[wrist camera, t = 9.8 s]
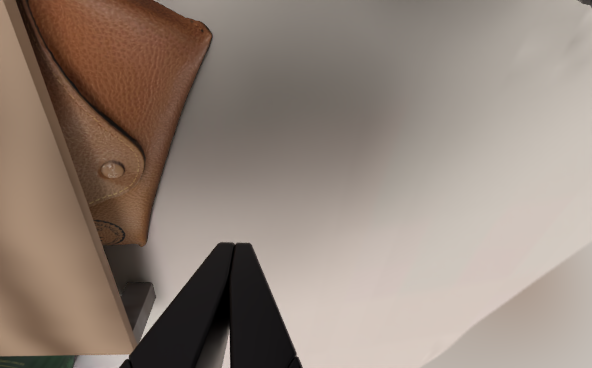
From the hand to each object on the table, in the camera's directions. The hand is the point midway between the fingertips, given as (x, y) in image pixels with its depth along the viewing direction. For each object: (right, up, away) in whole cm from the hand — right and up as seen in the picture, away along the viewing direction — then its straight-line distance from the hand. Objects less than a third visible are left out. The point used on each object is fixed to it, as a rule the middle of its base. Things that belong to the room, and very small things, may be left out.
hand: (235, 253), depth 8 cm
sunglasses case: (-10, +5, +11) cm, 16 cm away
